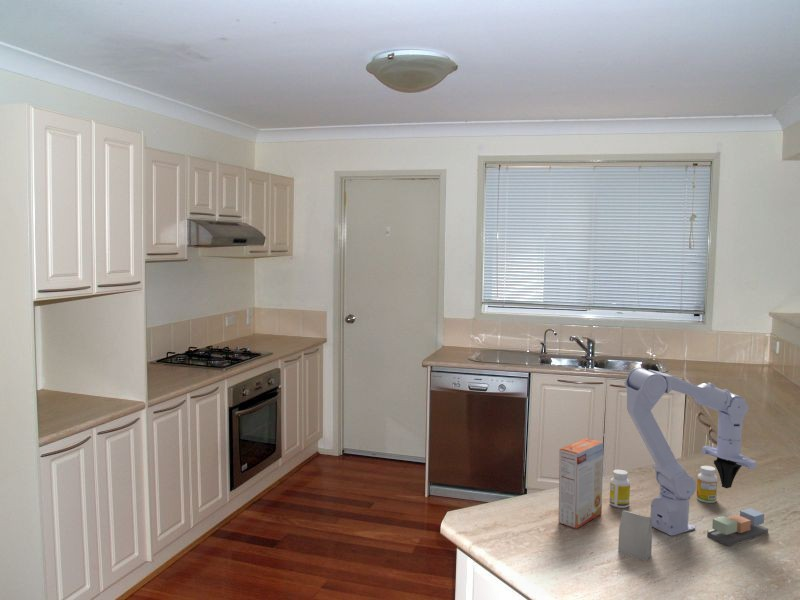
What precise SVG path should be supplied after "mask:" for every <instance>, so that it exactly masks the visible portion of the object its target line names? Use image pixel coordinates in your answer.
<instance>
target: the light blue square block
mask: <svg viewBox="0 0 800 600" xmlns="http://www.w3.org/2000/svg"><path fill="white" fill-rule="evenodd" d="M739 516H741V517H744V518H746V519H749V520H751V525H752V526H757V525H760V526H761V525H762V524H764V522H765V513H763V512H761V511H758V510H755V509H753V508H751V507H750V508H745V509H742V510H740V511H739Z"/></svg>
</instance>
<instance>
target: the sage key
mask: <svg viewBox="0 0 800 600" xmlns="http://www.w3.org/2000/svg"><path fill="white" fill-rule="evenodd" d="M727 517H728V516H724V515H722V516H718V517H714V518H712V529H714V530H717V531H719V532H721V533H723V534H725V535H728V534H731V533H734V532H737V522H736V521H734V520H732V519H729V518H727ZM712 529H711V530H712Z"/></svg>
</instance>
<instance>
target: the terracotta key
mask: <svg viewBox="0 0 800 600" xmlns="http://www.w3.org/2000/svg"><path fill="white" fill-rule="evenodd" d="M726 517H727V518H729V519H732V520H734V521H736V522H737V532H739V533H743V532H746V531H749V530H750V526H751V520H749V519H746V518H744V517H741V516H740V514H734V515H729V516H726Z"/></svg>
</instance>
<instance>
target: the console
mask: <svg viewBox="0 0 800 600" xmlns="http://www.w3.org/2000/svg"><path fill="white" fill-rule="evenodd" d="M767 534H769V528H768V527H765V526H763V525H761V524H760V525H757V526H752V525H751V526H750V530H749V531H746V532H743V533H739V532H734V533H731V534H728V535H725V534H723V533H721V532H719V531H717V530H714V529H709V530H707V533H706V536H707V537H708V538H709V539H712V540H713V541H716V542H719V543H721V544H723V545H725V546H727V547H731V546H734V545H736V544H740V543H742V542H746V541H749V540H750V539H751V540H752V539H754V538H758V537H761V536H764V535H767Z"/></svg>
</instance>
